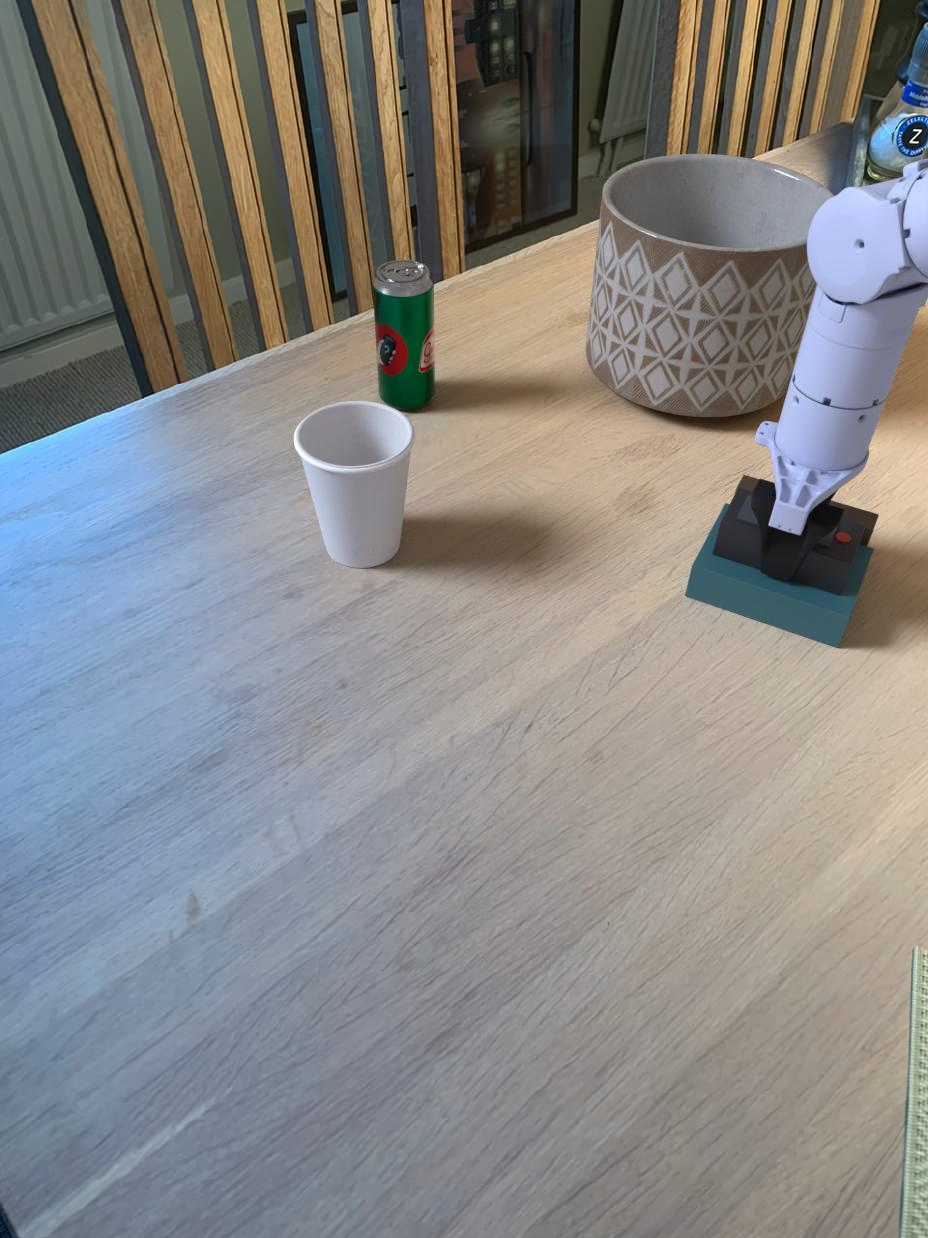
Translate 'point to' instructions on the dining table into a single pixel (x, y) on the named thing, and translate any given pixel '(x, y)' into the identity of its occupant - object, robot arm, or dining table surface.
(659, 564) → the dining table surface
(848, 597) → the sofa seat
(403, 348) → the soda can
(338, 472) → the dixie cup
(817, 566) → the remote
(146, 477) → the dining table surface
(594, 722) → the dining table surface
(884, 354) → the robot arm
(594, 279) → the planter
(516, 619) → the dining table surface
